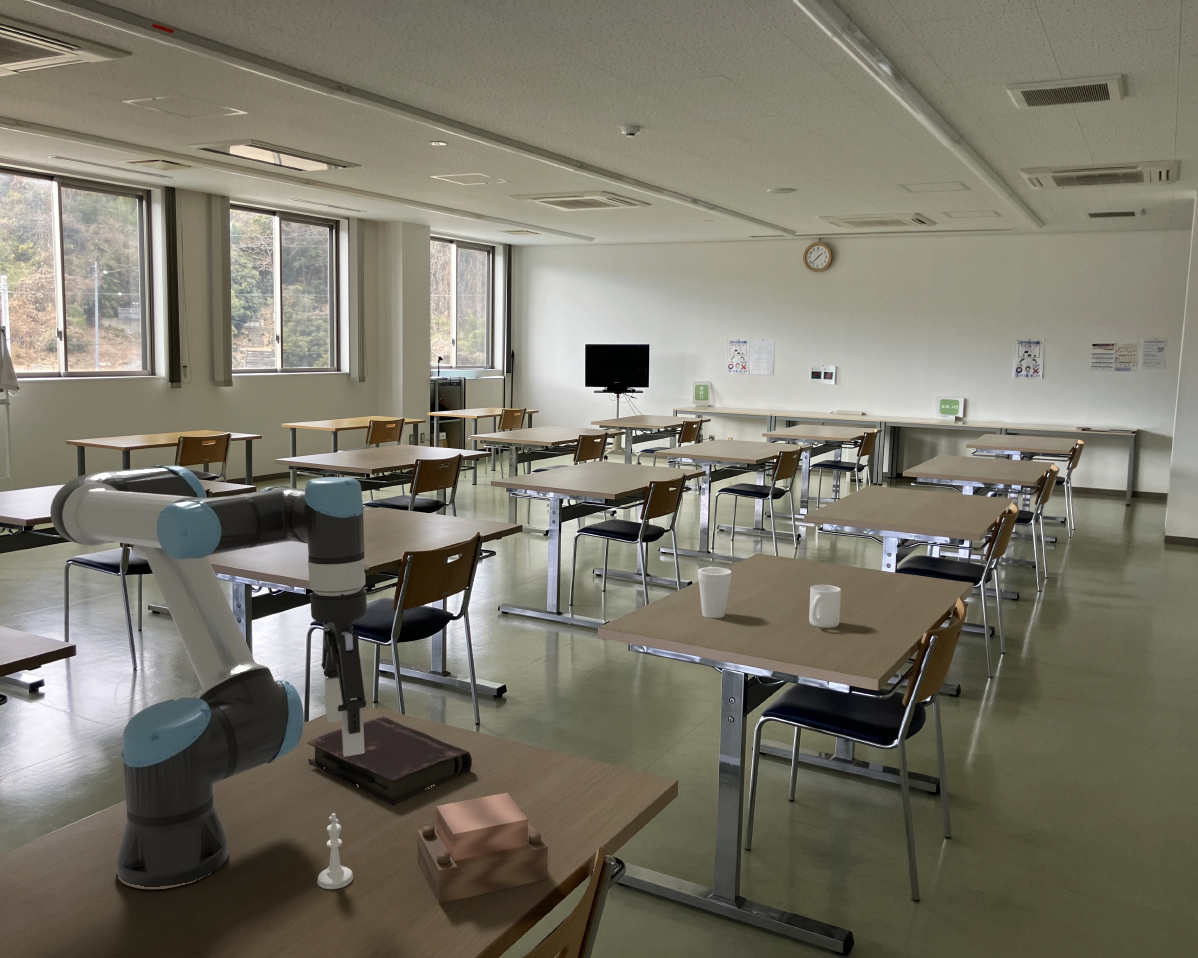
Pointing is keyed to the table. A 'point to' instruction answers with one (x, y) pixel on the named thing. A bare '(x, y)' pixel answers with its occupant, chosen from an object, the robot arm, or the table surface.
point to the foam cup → (714, 590)
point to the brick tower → (480, 849)
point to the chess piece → (334, 861)
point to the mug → (824, 606)
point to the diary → (390, 760)
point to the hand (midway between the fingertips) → (344, 736)
